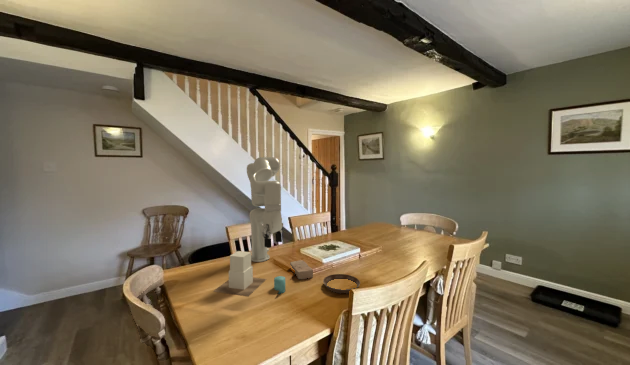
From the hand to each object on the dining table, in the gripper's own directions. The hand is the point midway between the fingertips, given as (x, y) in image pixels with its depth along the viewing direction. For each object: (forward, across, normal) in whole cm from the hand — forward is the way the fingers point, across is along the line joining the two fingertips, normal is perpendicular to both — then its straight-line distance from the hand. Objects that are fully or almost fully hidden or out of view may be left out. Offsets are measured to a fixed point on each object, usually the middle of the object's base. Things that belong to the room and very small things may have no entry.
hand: (273, 244), depth 120 cm
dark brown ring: (+22, -15, +28) cm, 39 cm away
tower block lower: (+20, +4, -16) cm, 25 cm away
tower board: (+21, +4, -16) cm, 27 cm away
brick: (+22, -22, +4) cm, 31 cm away
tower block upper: (+12, +5, -15) cm, 20 cm away
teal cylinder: (+22, 0, +3) cm, 22 cm away
